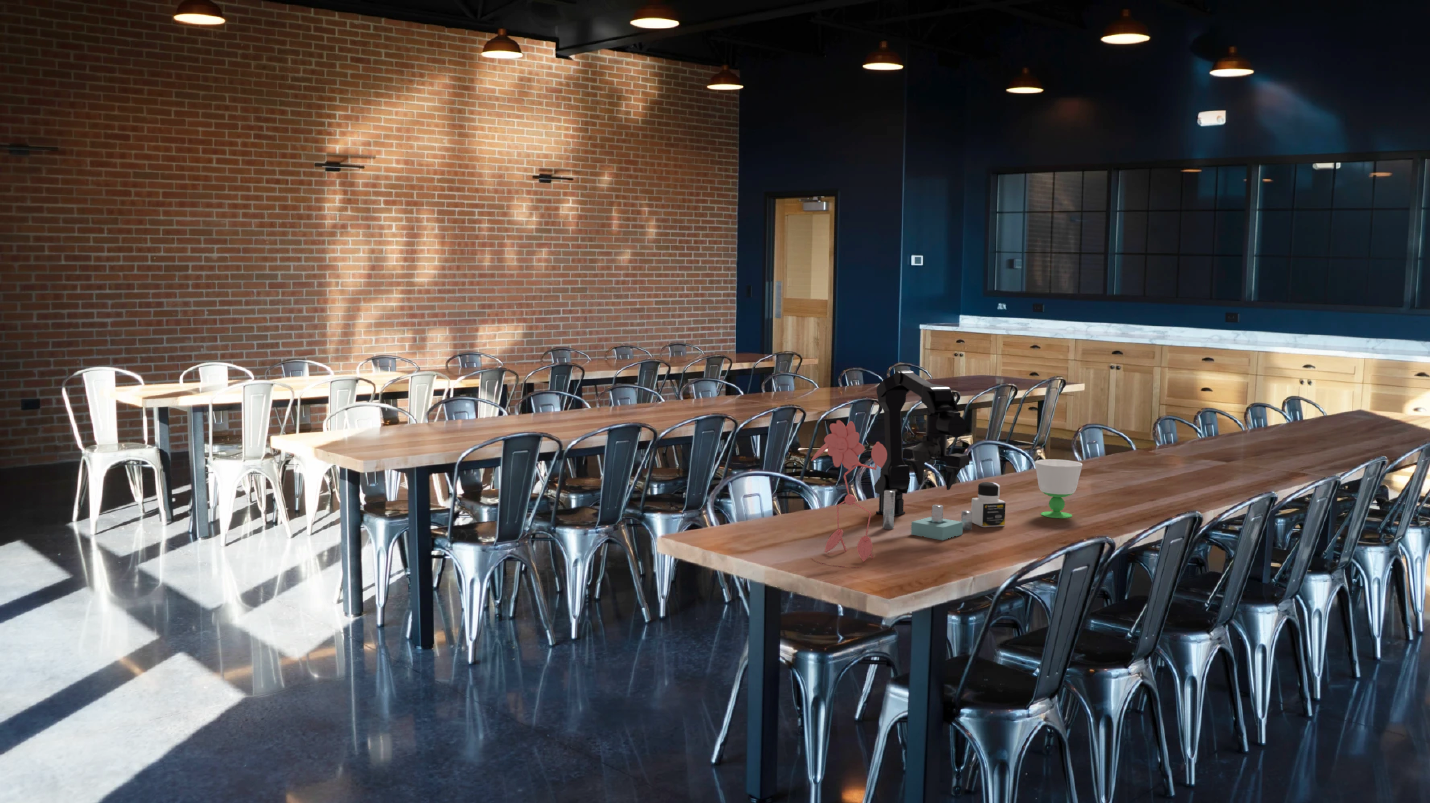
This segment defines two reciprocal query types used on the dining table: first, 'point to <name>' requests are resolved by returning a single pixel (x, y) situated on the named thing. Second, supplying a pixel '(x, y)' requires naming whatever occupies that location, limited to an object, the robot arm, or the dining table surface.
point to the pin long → (888, 509)
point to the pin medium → (937, 514)
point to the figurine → (845, 450)
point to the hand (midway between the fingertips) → (934, 487)
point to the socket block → (936, 528)
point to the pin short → (966, 519)
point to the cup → (1057, 483)
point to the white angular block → (988, 506)
